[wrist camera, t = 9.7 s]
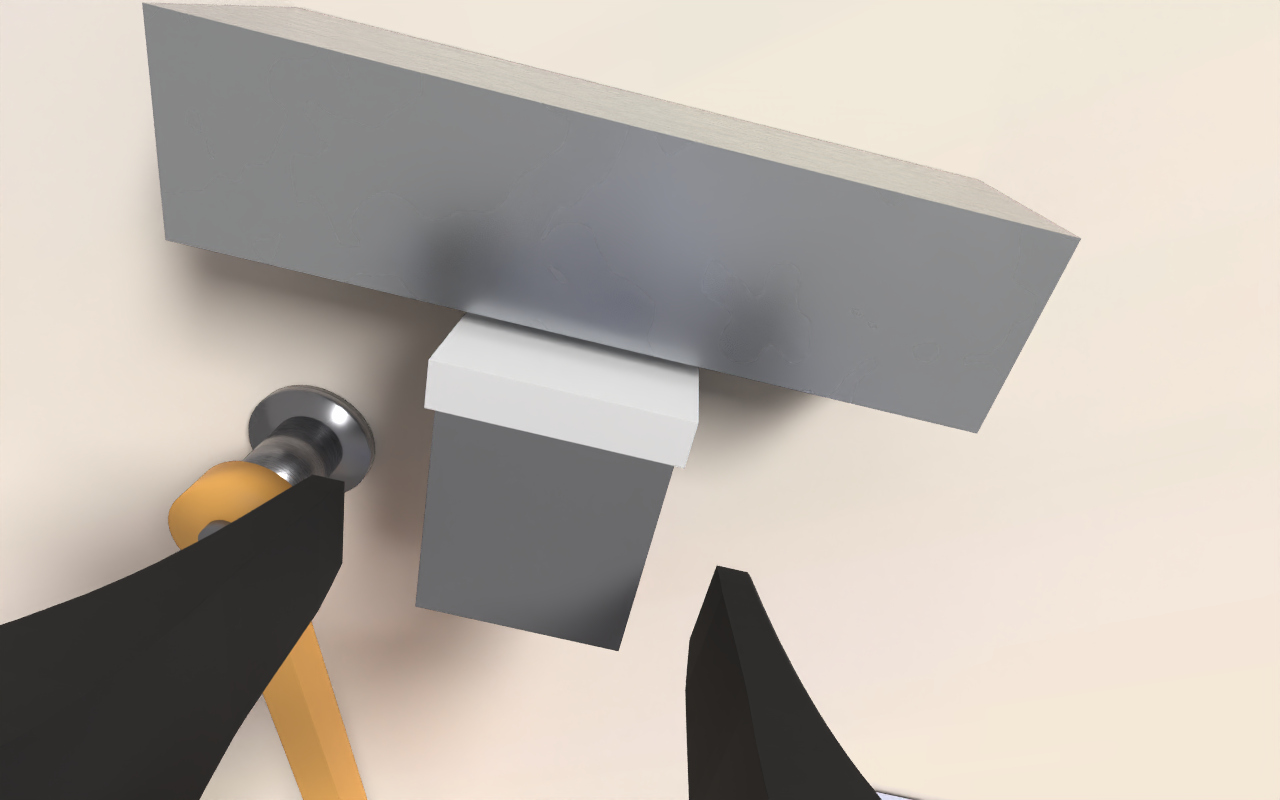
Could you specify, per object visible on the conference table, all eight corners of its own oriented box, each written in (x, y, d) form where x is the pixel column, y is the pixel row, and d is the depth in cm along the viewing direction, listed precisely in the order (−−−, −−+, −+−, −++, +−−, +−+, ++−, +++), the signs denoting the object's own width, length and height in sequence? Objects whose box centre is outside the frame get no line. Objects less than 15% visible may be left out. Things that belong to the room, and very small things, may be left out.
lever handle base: (372, 499, 22) (325, 568, 20) (257, 473, 22) (193, 539, 19) (377, 401, 21) (326, 461, 18) (254, 372, 20) (182, 428, 18)
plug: (628, 548, 23) (603, 728, 17) (476, 514, 22) (398, 684, 17) (698, 297, 18) (698, 422, 13) (513, 253, 18) (428, 359, 13)
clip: (337, 870, 26) (318, 915, 25) (184, 459, 18) (143, 494, 17) (411, 875, 26) (396, 921, 25) (292, 462, 18) (258, 498, 16)
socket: (908, 339, 19) (973, 439, 14) (297, 191, 18) (166, 247, 14) (980, 180, 17) (1081, 238, 12) (296, 7, 16) (142, 2, 12)
